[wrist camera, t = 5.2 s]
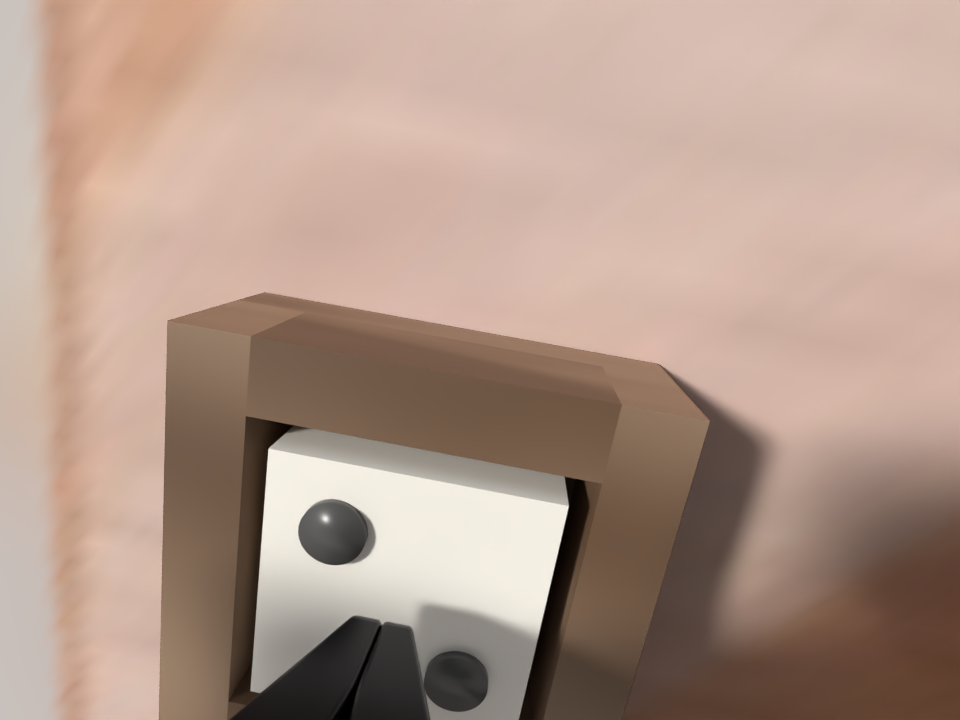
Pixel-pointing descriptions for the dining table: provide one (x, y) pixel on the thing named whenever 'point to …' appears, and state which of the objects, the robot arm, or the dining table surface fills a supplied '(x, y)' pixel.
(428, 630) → the tile two
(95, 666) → the dining table surface
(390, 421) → the button board
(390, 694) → the robot arm
